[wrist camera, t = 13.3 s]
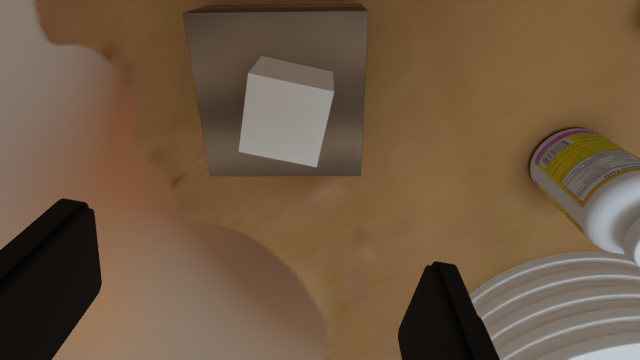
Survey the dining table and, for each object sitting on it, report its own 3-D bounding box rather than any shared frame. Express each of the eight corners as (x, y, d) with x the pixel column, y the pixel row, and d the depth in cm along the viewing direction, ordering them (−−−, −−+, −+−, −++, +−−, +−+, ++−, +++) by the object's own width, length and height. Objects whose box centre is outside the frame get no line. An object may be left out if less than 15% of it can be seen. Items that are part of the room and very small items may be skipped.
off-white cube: (261, 55, 26) (248, 73, 22) (333, 71, 27) (334, 91, 22) (252, 124, 28) (238, 151, 24) (318, 137, 29) (316, 167, 25)
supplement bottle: (594, 186, 37) (712, 281, 26) (523, 194, 37) (607, 290, 26) (609, 120, 34) (751, 195, 22) (531, 130, 34) (631, 208, 23)
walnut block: (207, 5, 30) (182, 13, 25) (360, 3, 30) (368, 11, 25) (227, 146, 36) (210, 176, 31) (355, 145, 36) (360, 175, 30)
